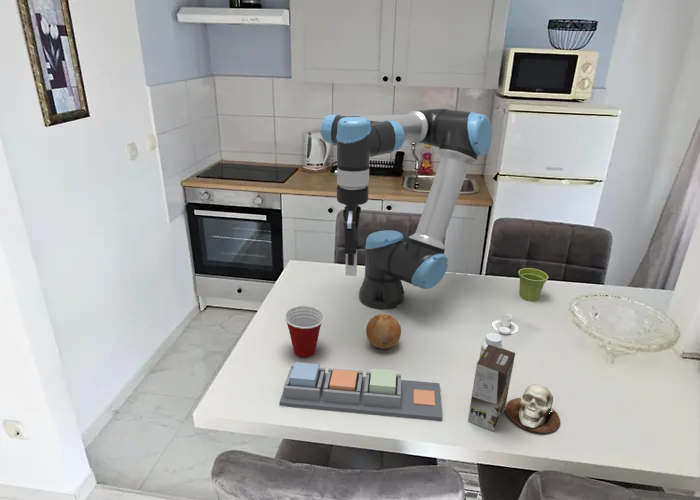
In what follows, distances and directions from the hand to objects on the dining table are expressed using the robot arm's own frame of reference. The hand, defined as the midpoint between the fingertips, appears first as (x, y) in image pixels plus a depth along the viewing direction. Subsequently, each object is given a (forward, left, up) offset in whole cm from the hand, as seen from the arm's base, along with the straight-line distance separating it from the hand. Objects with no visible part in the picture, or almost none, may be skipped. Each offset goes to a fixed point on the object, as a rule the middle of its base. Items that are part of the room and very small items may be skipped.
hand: (351, 274), depth 124 cm
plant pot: (-69, +6, -25) cm, 74 cm away
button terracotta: (+10, +13, -23) cm, 28 cm away
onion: (-10, +2, -25) cm, 27 cm away
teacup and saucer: (-45, +13, -25) cm, 53 cm away
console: (+7, +16, -24) cm, 30 cm away
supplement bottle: (-28, +25, -25) cm, 45 cm away
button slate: (+18, +7, -21) cm, 29 cm away
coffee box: (-14, +37, -25) cm, 47 cm away
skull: (-23, +43, -25) cm, 55 cm away
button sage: (+3, +19, -21) cm, 29 cm away
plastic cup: (+10, -7, -25) cm, 27 cm away
